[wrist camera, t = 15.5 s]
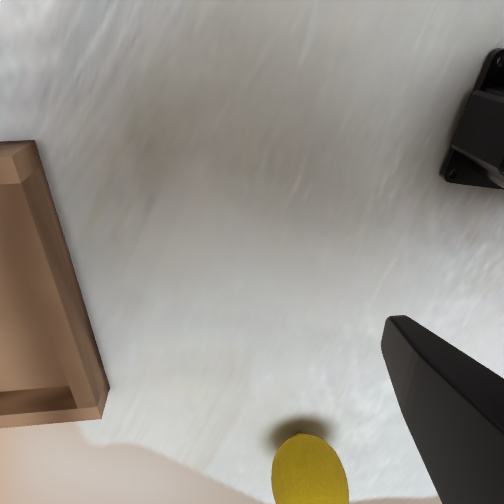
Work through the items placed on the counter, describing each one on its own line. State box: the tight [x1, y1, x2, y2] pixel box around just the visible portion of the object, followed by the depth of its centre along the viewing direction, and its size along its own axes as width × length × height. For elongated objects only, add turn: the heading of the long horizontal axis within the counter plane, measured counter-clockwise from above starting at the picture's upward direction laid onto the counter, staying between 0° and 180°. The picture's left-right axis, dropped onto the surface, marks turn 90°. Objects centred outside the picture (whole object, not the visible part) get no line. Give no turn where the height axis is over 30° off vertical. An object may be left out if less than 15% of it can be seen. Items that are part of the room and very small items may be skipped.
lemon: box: [271, 432, 349, 504], centre depth 29 cm, size 6×6×8 cm
